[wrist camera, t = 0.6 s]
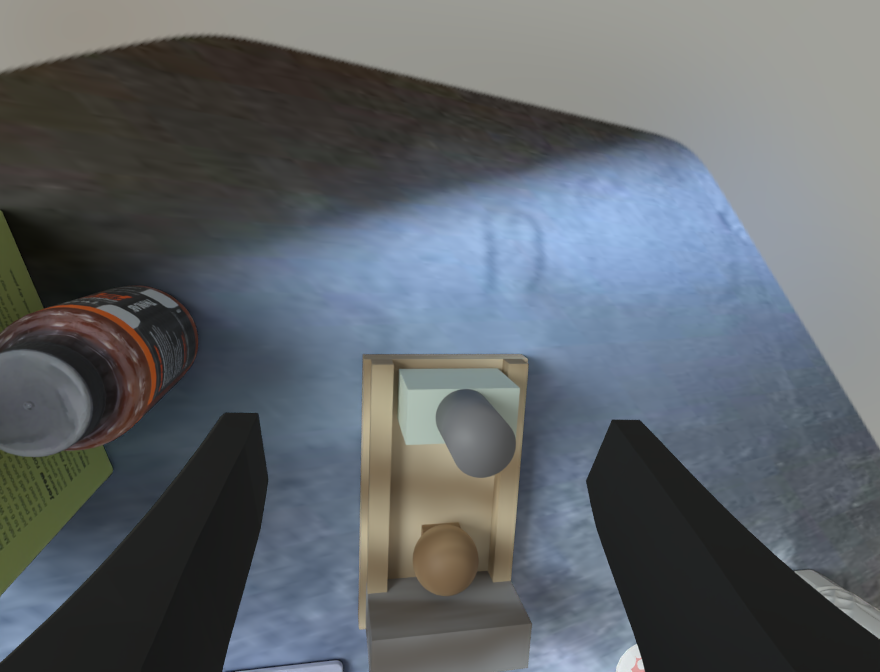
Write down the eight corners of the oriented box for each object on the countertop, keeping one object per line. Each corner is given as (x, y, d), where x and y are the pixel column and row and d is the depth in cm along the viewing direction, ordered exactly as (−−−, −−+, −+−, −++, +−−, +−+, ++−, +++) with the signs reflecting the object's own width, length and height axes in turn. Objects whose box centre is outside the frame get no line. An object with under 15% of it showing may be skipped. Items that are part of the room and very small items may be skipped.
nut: (467, 565, 35) (484, 608, 31) (407, 570, 34) (416, 615, 30) (471, 510, 34) (488, 546, 30) (409, 513, 33) (419, 552, 29)
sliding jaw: (494, 415, 32) (543, 474, 25) (397, 417, 31) (417, 481, 24) (497, 368, 32) (549, 414, 24) (398, 368, 31) (420, 417, 23)
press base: (501, 602, 37) (533, 674, 31) (358, 616, 35) (363, 695, 29) (521, 354, 34) (561, 382, 28) (362, 354, 32) (369, 384, 26)
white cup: (743, 651, 43) (861, 775, 33) (761, 564, 41) (890, 668, 32) (823, 642, 44) (959, 758, 35) (844, 558, 43) (991, 655, 33)
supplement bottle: (156, 262, 28) (46, 286, 18) (223, 352, 30) (161, 425, 19) (57, 320, 28) (-117, 381, 17) (130, 408, 30) (14, 515, 19)
